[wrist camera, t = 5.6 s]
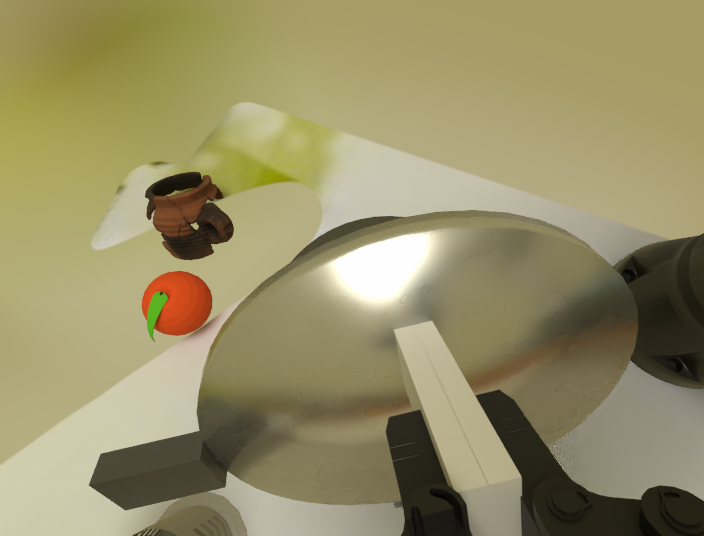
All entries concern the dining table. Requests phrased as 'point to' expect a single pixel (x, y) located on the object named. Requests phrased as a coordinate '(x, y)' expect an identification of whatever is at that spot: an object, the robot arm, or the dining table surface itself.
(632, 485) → the dining table surface
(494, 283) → the cooker lid
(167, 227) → the pottery mug
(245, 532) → the french press
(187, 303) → the clementine
